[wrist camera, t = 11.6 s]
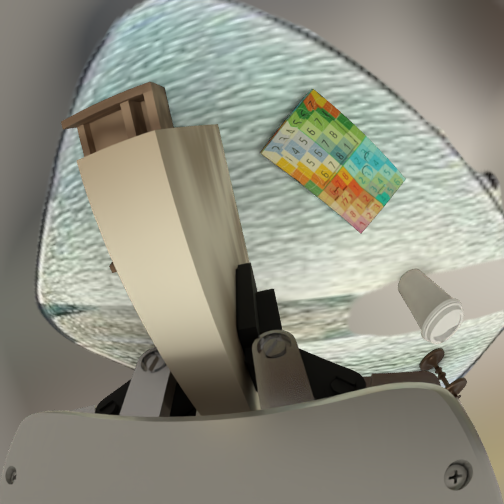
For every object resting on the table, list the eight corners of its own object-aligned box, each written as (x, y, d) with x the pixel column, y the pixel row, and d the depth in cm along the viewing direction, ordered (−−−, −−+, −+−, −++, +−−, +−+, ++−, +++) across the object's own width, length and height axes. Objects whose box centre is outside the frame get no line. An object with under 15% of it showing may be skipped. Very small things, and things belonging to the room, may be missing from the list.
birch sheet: (258, 302, 22) (279, 470, 10) (241, 305, 22) (248, 473, 10) (217, 124, 16) (155, 129, 4) (195, 130, 16) (76, 161, 4)
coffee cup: (385, 300, 52) (417, 349, 39) (401, 260, 48) (443, 305, 35) (417, 301, 54) (450, 345, 40) (433, 264, 49) (474, 305, 36)
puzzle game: (363, 236, 41) (261, 154, 34) (352, 224, 45) (258, 150, 39) (408, 180, 37) (314, 88, 30) (394, 173, 41) (306, 91, 35)
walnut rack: (202, 234, 44) (196, 255, 38) (126, 252, 44) (112, 272, 38) (164, 87, 33) (150, 81, 27) (84, 119, 34) (61, 121, 27)
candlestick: (411, 374, 68) (454, 464, 36) (424, 350, 63) (477, 446, 32) (437, 366, 68) (481, 448, 37) (450, 342, 63) (503, 428, 32)
